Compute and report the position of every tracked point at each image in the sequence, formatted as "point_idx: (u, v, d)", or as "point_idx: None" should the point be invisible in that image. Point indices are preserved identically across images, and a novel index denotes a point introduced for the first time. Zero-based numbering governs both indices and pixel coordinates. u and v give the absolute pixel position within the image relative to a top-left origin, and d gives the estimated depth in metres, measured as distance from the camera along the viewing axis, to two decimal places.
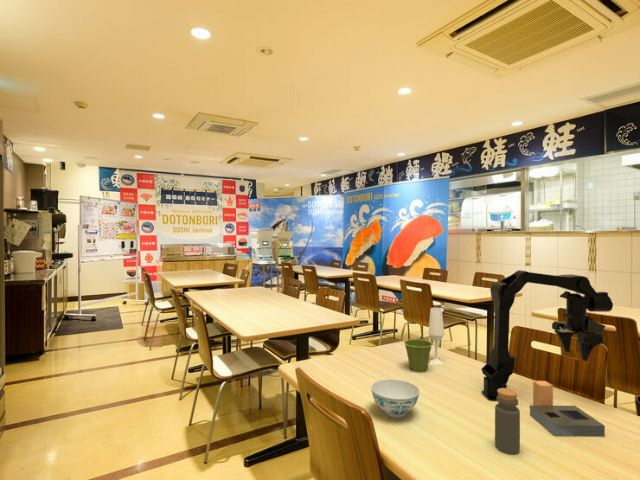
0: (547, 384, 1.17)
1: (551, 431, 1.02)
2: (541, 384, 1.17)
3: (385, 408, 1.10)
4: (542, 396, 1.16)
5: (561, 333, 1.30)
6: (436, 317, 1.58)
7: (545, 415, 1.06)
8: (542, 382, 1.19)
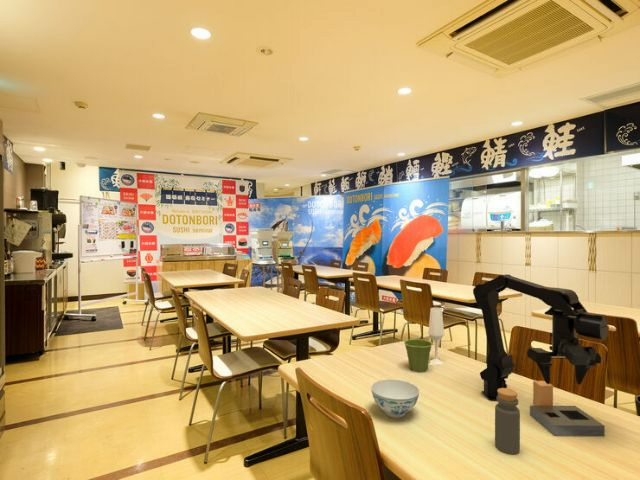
0: (547, 384, 1.17)
1: (551, 431, 1.02)
2: (541, 384, 1.17)
3: (385, 408, 1.10)
4: (542, 396, 1.16)
5: None
6: (436, 317, 1.58)
7: (545, 415, 1.06)
8: (542, 382, 1.19)
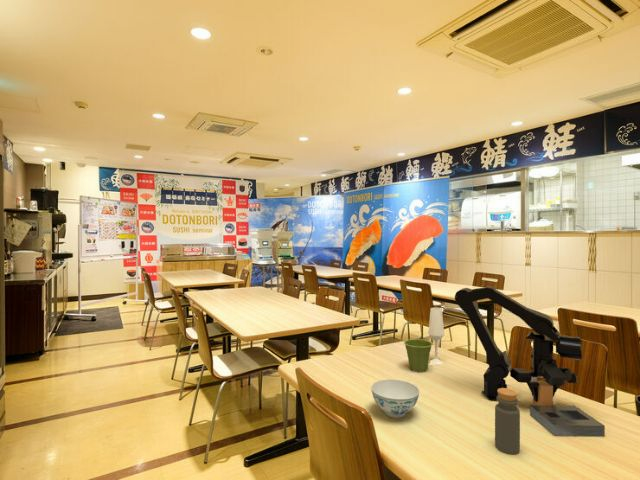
0: (547, 384, 1.17)
1: (551, 431, 1.02)
2: (541, 384, 1.17)
3: (385, 408, 1.10)
4: (542, 396, 1.16)
5: None
6: (436, 317, 1.58)
7: (545, 415, 1.06)
8: (542, 382, 1.19)
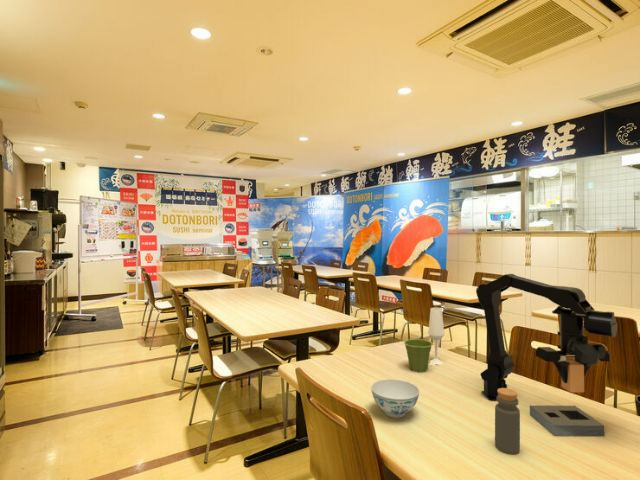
0: (577, 363, 1.07)
1: (551, 431, 1.02)
2: (571, 363, 1.07)
3: (385, 408, 1.10)
4: (572, 377, 1.06)
5: (576, 358, 1.09)
6: (436, 317, 1.58)
7: (545, 415, 1.06)
8: (571, 361, 1.08)
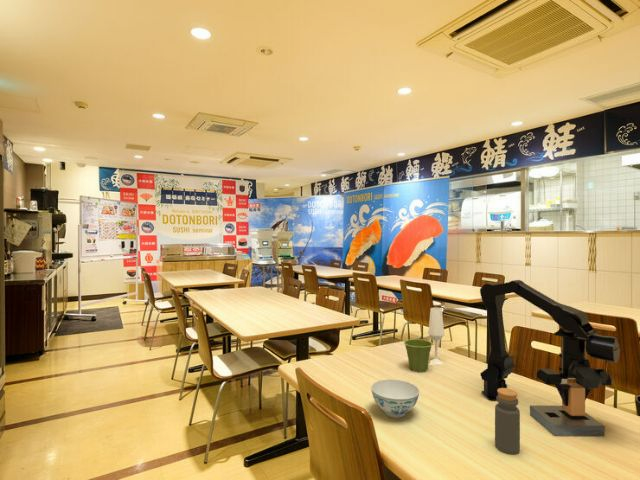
0: (578, 386, 1.06)
1: (551, 431, 1.02)
2: (572, 386, 1.06)
3: (385, 408, 1.10)
4: (573, 400, 1.05)
5: (578, 381, 1.09)
6: (436, 317, 1.58)
7: (545, 415, 1.06)
8: (572, 384, 1.08)
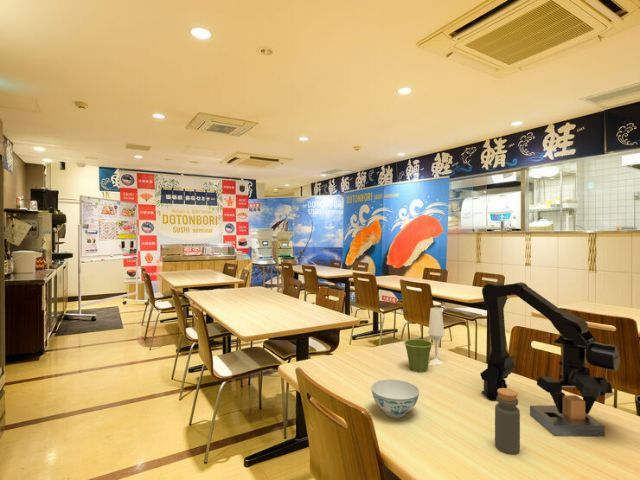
0: (578, 399, 1.06)
1: (551, 431, 1.02)
2: (572, 399, 1.06)
3: (385, 408, 1.10)
4: (573, 413, 1.05)
5: None
6: (436, 317, 1.58)
7: (545, 415, 1.06)
8: (572, 397, 1.08)
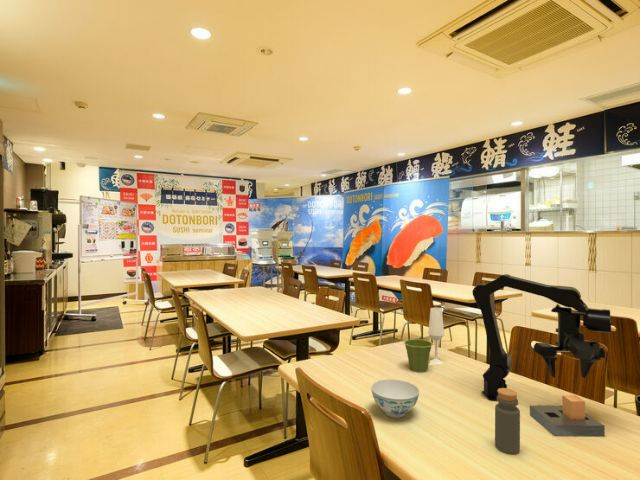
0: (578, 399, 1.06)
1: (551, 431, 1.02)
2: (572, 399, 1.06)
3: (385, 408, 1.10)
4: (573, 413, 1.05)
5: None
6: (436, 317, 1.58)
7: (545, 415, 1.06)
8: (572, 397, 1.08)
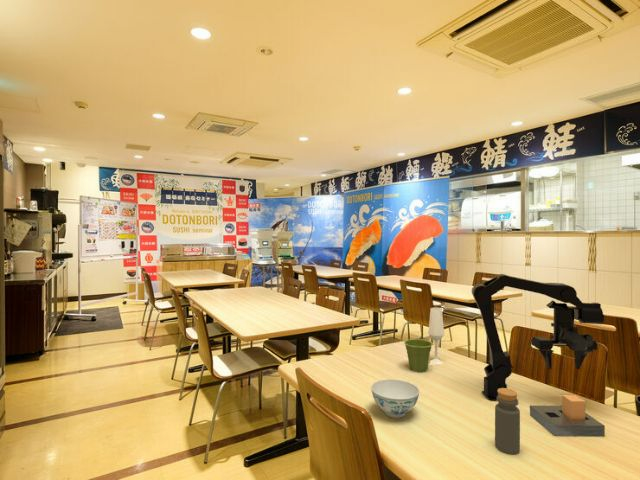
0: (578, 399, 1.06)
1: (551, 431, 1.02)
2: (572, 399, 1.06)
3: (385, 408, 1.10)
4: (573, 413, 1.05)
5: None
6: (436, 317, 1.58)
7: (545, 415, 1.06)
8: (572, 397, 1.08)
